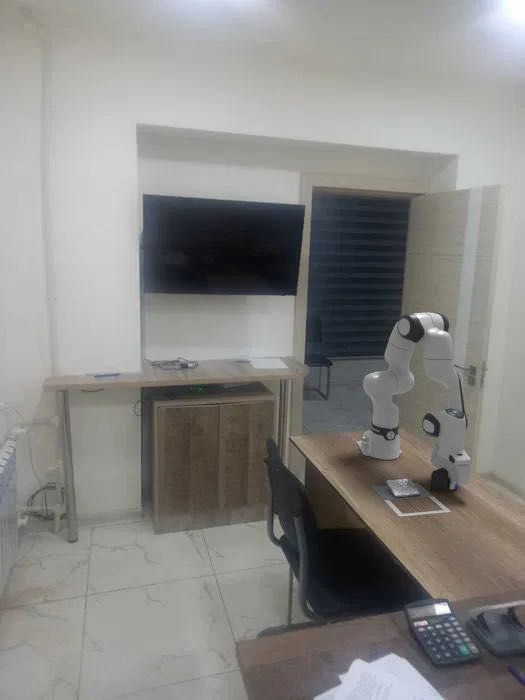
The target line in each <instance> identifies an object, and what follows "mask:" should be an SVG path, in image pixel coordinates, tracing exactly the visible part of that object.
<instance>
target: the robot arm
mask: <svg viewBox="0 0 525 700" xmlns="http://www.w3.org/2000/svg"><path fill="white" fill-rule="evenodd" d="M449 330H450V322H449V319H448V317H447V316H446V315H445V314H443V313H441V312H427V311H426V312H425V311H422V312H416V313H415V312H414V313H411V312H410V313H406V314H403V315H402V316H401V317H400V318H399V319H398V321H397V322H396V323H395V325H394V327H393V329H392V331H391V333H390V336H389V338H388V341H387V342H388V343H387V345H386V349H385V352H384V360H385V361H386V363H387V364H388V368H387V370H382V371H381V370H380V371H374V372H371V373H368V374H367V375H365V376H364V378H363V380H362V388H363V390H364V392H365V394H366V395H368V397H369V398H370V399H371V402H372V405H373V406H372V407H373V417H372V421H371V422H370V427H369V428H370V429H369V430H367V431H365V432H364V433H363V434H362V436H361V440H359V441H357V446H358V448H359V450H360V451H361V453H362V455H363V456H365V457H372V458H374V459H379V460H384V461H386V460H395V459H398V458H399V457H400V455H401V454H403V450H402V449H401V437H400V435H399V430H400V428H399V427H400V426H399V418H400V417H399V416H400V409H399V407H398V406H397V404H395V403H393V398H392V396H394V395H401V394H405V393H408V392H409V391H412V390H413V388H414V386H415V377H414V375H413V373H412V372H411V370H410V363H411V360H412V356H413V354H414V350H415V347H416V343H419V342H420V343H421V345H422V347H423V359H422V361H423V362H422V364H423V365H422V366H423V372H424V374H425V375H426V376H427V377H428V378H430V380H432V381H434V382H436V383H439V384H441V385H442V386H444V387H445V389H446V392H447V400H448V408H446V409H443V410H441V411H431V412H427V413H426V414H425V415H424V416H423V418H422V420H421V421H422V422H421V426H422V430H423V431H424V433H425V434H426V435H428V436H429V437H433V438H438V439H439V442H438V443H436V444H435V445H434V446H433V449H432V452H431V457H430V464H431V466H433V467H434V468H435V469H436V470H437V469H440V468H445V469H446V470H447V471H448V477H449V478H450V481H451V482H450V484H449V489H454V486H455V484H456V483H457V484H458V486H464V485H467V484H469V481H470V475H471V474H470V472H471V468H470V465H471V464H472V459H471V457H470V456H469V455H468V453H467V452H466V450H465V449H464V447H465V445H464V439H465V436H466V431H467V428H468V425H469V422H468V421H469V420H468V418H467V414H466V410H465V404H464V403H465V402H464V395H463V387H462V381H461V376H460V374H459V372H458V371H456V369H455V366H454V364H455V363H454V347H453V340H452V336H451V334H450V333H449Z"/></svg>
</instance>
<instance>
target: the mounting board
mask: <svg viewBox="0 0 525 700" xmlns="http://www.w3.org/2000/svg"><path fill="white" fill-rule="evenodd" d="M413 484H414V485H415V487H416V488H417V490H418V491H419V493H420V496H413V497H401V498H395V497H394V495H393V494H392V492H391V490H390V488H389V487H388V485H380V486H377V485H376V486H371V489H372V490H374V492H375V493H376V494H377V495H378V496H379V497H380V498H381V499H382V500H383V501H384V502H385V503H386V505H388V506H389V507H390V508H391V509H392V510H393V511H394V512H395V514H396V515H397V516H398V517H410V516H411V517H413V516H420V515H421V516H422V515H423V516H424V515H431V514H443V513H452V510H450V509H449V508H448V507H446V505H444V504H443V503H442V502H441V501H439V499H437V498H436V497H435V496H434V495H433V494H431V493H430V491H427V490H426V488H424V487H423V486H422V485H421V484H419V483H413ZM419 498H420V499H421V498H428V499H431V501H433V502H434V503H435V504H436V505H438V507H439V508H440V509H439V510H431V511H419V512H408V513H403V512H402V511H400V509H398V507H396V505H395V504H393V503H392V501H395V500H398V501H399V500H408V499H419ZM441 509H442V510H441Z"/></svg>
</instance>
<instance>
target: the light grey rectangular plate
mask: <svg viewBox="0 0 525 700" xmlns="http://www.w3.org/2000/svg"><path fill="white" fill-rule="evenodd" d="M385 483H386V486H388V487H389V488H390V490H391V492H392V494H393V495H394V497H395V498H401V497H413V496H420V493H419V491H418V490H417V488H416V487H415V485H414V484H415V483H414V482H413V480H412V479H411V478H401V479H400V478H399V479H387V480H386V481H385Z"/></svg>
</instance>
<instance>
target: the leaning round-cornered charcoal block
mask: <svg viewBox="0 0 525 700" xmlns="http://www.w3.org/2000/svg"><path fill="white" fill-rule="evenodd" d="M430 475H431V477H430V485H429V492H431V493H448V492H451V491H454V492H455V491H456V490H457V489H458V487H459V485H458V484H457V483H456V484H455V486H454V489H449V484H450V482H451V481H450V478H449V477H448V471H447V470H446V469H445V468H440V469H437V468H436V469H434V470H433V471H432V472H431V474H430Z"/></svg>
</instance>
